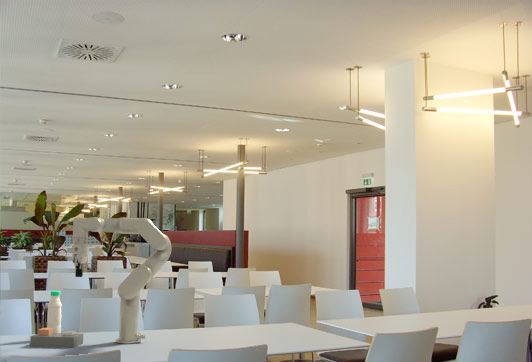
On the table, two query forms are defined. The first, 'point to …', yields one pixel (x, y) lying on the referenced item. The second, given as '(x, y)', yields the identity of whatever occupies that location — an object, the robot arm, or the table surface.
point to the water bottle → (54, 312)
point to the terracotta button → (45, 331)
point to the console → (56, 340)
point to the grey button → (69, 333)
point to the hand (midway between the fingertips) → (78, 276)
